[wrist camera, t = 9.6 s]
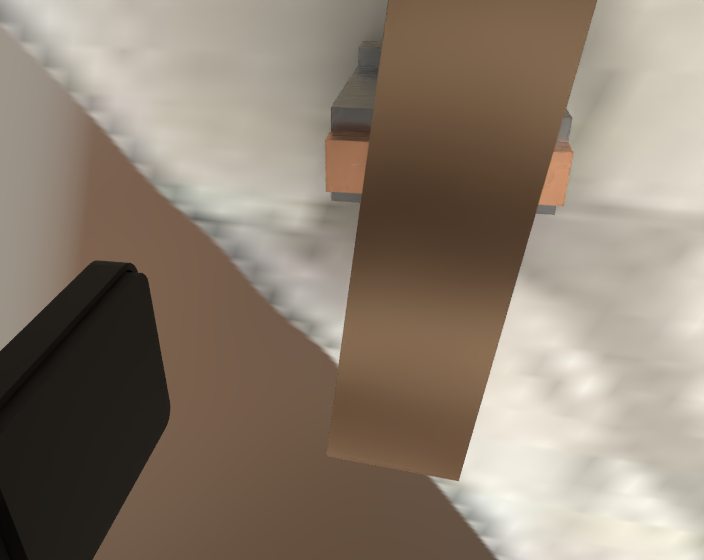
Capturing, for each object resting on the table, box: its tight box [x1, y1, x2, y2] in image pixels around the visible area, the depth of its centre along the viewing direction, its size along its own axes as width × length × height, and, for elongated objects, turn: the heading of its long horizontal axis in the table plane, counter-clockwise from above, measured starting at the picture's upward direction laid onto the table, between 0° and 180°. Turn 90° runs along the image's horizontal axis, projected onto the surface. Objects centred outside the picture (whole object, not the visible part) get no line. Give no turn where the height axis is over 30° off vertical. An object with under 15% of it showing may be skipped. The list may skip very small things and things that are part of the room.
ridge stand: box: [325, 42, 573, 215], centre depth 22 cm, size 4×7×9 cm, turn 90°
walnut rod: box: [327, 0, 597, 481], centre depth 17 cm, size 16×4×4 cm, turn 173°
